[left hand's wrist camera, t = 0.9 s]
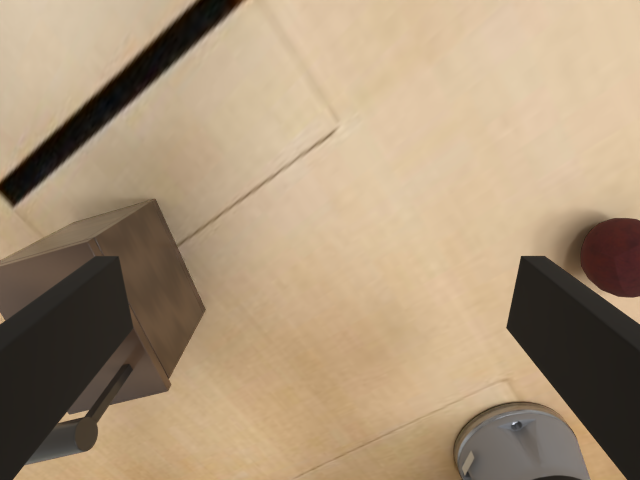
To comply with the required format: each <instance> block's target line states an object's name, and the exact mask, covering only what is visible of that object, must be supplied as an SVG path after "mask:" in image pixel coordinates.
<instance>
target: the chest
mask: <svg viewBox="0 0 640 480" xmlns="http://www.w3.org/2000/svg"><path fill="white" fill-rule="evenodd" d="M91 238H94V240H95V242H96V244H97V245H98V247H99V249H100V251H101V253H102V255H103V256H119V259H120V264H121V269H122V274H123V279H124V284H125V289H126V293H127V298H128V303H129V306H130V307H131V309H132V311H133V313H134V315H135V317H136V319H137V321H138V323H139V324H140V326H141V328H142V330H143V332H144V334H145V336H146V338H147V339H148V341H149V343H150V345H151V347H152V349H153V351H154V353H155V355H156V356H157V358H158V360H159V362H160V364H161V366H162V368H163V370H164V371H165V373H166V375H167V377H168V379H169V378H170V376H171V374H172V372H173V370H174V368H175V367H176V365H177V363H178V361H179V359H180V357H181V355H182V353H183V352H184V350H185V348H186V346H187V344H188V342H189V340H190V338H191V336H192V335H193V333H194V331H195V329H196V327H197V325H198V323H199V321H200V320H201V318H202V316H203V314H204V312H205V308H204V305H203V303H202V301H201V299H200V297H199V294H198V292H197V290H196V288H195V286H194V283H193V281H192V279H191V277H190V274H189V272H188V270H187V268H186V266H185V263H184V261H183V259H182V257H181V255H180V252H179V250H178V248H177V246H176V243H175V241H174V239H173V237H172V235H171V232H170V230H169V228H168V226H167V224H166V221H165V219H164V217H163V215H162V212H161V210H160V208H159V206H158V204H157V201H156V199H153V200H149V201H146V202H143V203H139V204H136V205H132V206H129V207H125V208H122V209H119V210H115V211H112V212H108V213H105V214H101V215H98V216H94V217H91V218H88V219H84V220H81V221H77V222H74V223H72V224H70V225H68V226H66V227H64V228H62V229H60V230H58V231H56V232H54V233H52V234H50V235H48V236H47V237H45V238H43V239H41V240H39V241H37V242H35V243H33V244H31V245H29V246H27V247H25V248H23V249H21V250H19V251H18V252H16V253H14V254H12V255H10V256H8V257H6V258H4V259H2V260H0V264H3V263H7V262H11V261H14V260H18V259H21V258H25V257H28V256H32V255H35V254H39V253H42V252H46V251H49V250H53V249H56V248H60V247H63V246H67V245H70V244H74V243H77V242H81V241H84V240H88V239H91Z"/></svg>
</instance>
